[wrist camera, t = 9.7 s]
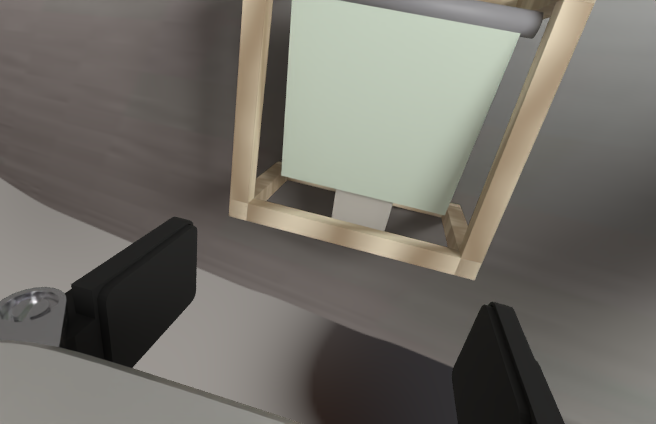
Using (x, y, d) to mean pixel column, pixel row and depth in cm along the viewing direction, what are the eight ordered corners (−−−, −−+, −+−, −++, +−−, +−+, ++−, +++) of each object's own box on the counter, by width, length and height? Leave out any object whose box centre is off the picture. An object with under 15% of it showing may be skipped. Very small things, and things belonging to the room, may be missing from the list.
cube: (394, 199, 30) (379, 246, 34) (399, 166, 33) (386, 212, 37) (336, 185, 30) (329, 233, 34) (348, 154, 34) (340, 201, 38)
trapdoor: (539, 10, 21) (545, 13, 20) (453, 209, 30) (454, 219, 28) (287, -34, 22) (280, -34, 21) (277, 167, 31) (271, 174, 30)
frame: (534, 3, 28) (609, -31, 18) (455, 218, 36) (474, 280, 26) (302, -37, 30) (248, -88, 20) (276, 174, 39) (228, 215, 28)
